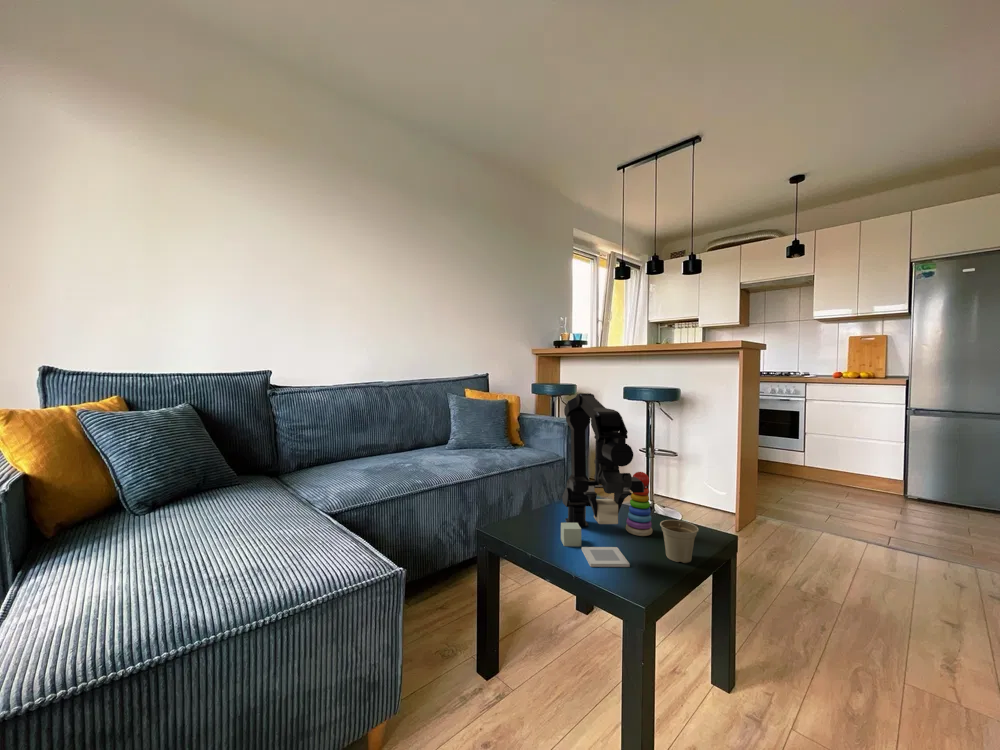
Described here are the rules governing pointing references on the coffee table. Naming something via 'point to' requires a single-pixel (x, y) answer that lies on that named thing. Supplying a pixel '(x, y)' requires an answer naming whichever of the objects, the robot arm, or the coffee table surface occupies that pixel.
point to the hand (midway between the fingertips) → (605, 516)
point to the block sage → (571, 534)
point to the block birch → (607, 511)
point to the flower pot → (679, 539)
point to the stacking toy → (640, 510)
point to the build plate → (605, 557)
